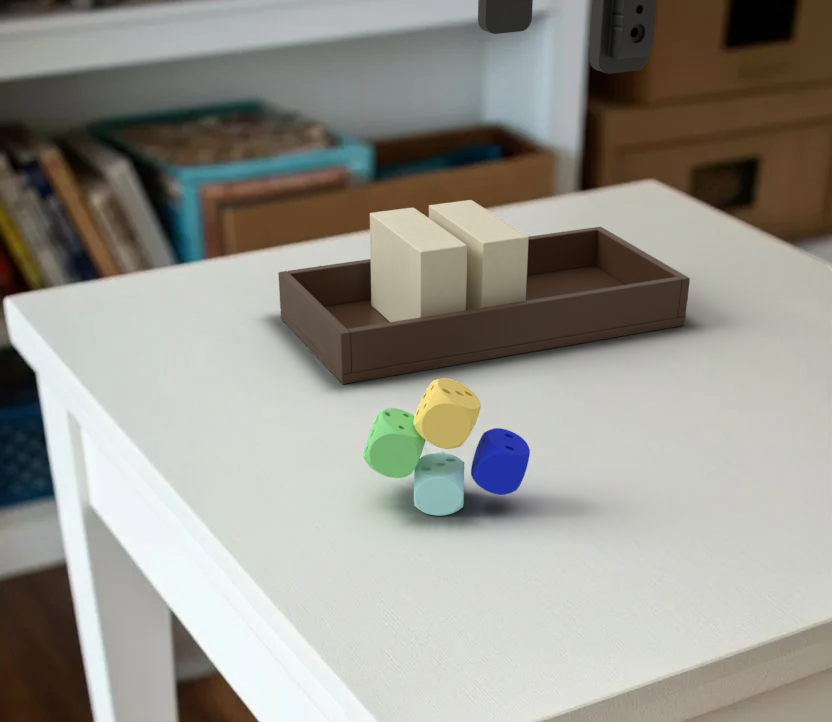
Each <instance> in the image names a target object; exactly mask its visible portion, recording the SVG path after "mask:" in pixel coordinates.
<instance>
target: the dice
mask: <svg viewBox="0 0 832 722" xmlns="http://www.w3.org/2000/svg"><path fill="white" fill-rule="evenodd" d="M481 406H482V405H481V402H480V399H479V398H478V396H477V394H475V392H474V391H473V390H471V389H470V388H469V387H467V386H466V385H465V384H463V383H462V382H459V381H457V380H455V379H452V378H449V377H441V378H437V379H434V380H432V381H431V382H430V384H429V385H428V386H427V388H426V390H425V391H424V393H423V394H422V397H421V399H420V401H419V402H418V406H417V408H416V410H415V413H414V414H412V413H411V412H408V411H406V410H403V409H401V408H392V407H390V408H386V409H382V410H380V411H379V412H378V413H377V415H376V417H375V419H374V422H373V424H372V426H371V427H370V428H371V429H370V431H369V434H368V436H367V439H366V442H365V445H364V446H365V447H364V449H363V453H362V456H363V457H362V458H363V459H364V461H365V463H366V464H367V466H369V467H370V469H372V470H373V471H375V472H376V473H378V474H380V475H382V476H384V477H387V478H392V479H402V478H406V477H408V476H411V475H412V474H413V472H414V476H413V505H414V507H415V508H416V509H418V510H419V511H420V512H422V513H424V514H426V515H431V516H439V517H440V516H449V515H452V514H454V513H457V512H458V511H460V510H461V509H462V508H464V502H465V501H464V499H465V461H463V459H461V458H459V457H458V456H457V455H454V454H452V453H445V452H433V453H427V454H425V455H423V456H422V453H423V450H424V447H425V444H426V442H428V443H429V444H431V445H433V446H435V447H437V448H439V449H442V450H454V449H458V448H460V447H462V446H463V445H464V444H465V443H466V441H467V440H468V438H469V437H470V435H471V433H472V431H473V429H474V427H475V426H476V423H477V421H478V418H479V415H480V412H481ZM530 450H531V448H530V446H529V445H528V442H527V441H526V440H525V439H524V438H523V437H521V436H520V435H519V434H518V433H516V432H513V431H512V430H509V429H505V428H501V427H496V428H490V429H488V430H486V431H484V432H483V433H482V435H481V436H480V439H479V441H478V443H477V445H476V448H475V451H474V454H473V458H472V463H471V467H470V476H471V479H472V480H473V481H474V482H475V484H476V485H477V486H479V487H480V488H481V489H483V490H484V491H485V492H488V493H490V494H493V495H499V496H502V495H504V496H505V495H509V494H512V493H514V492H517V490H518V489H519V488H520V486H521V484H522V482H523V480H524V477H525V474H526V473H527V470H528V469H527V468H528V465H529V461H530V454H531V451H530Z"/></svg>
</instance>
